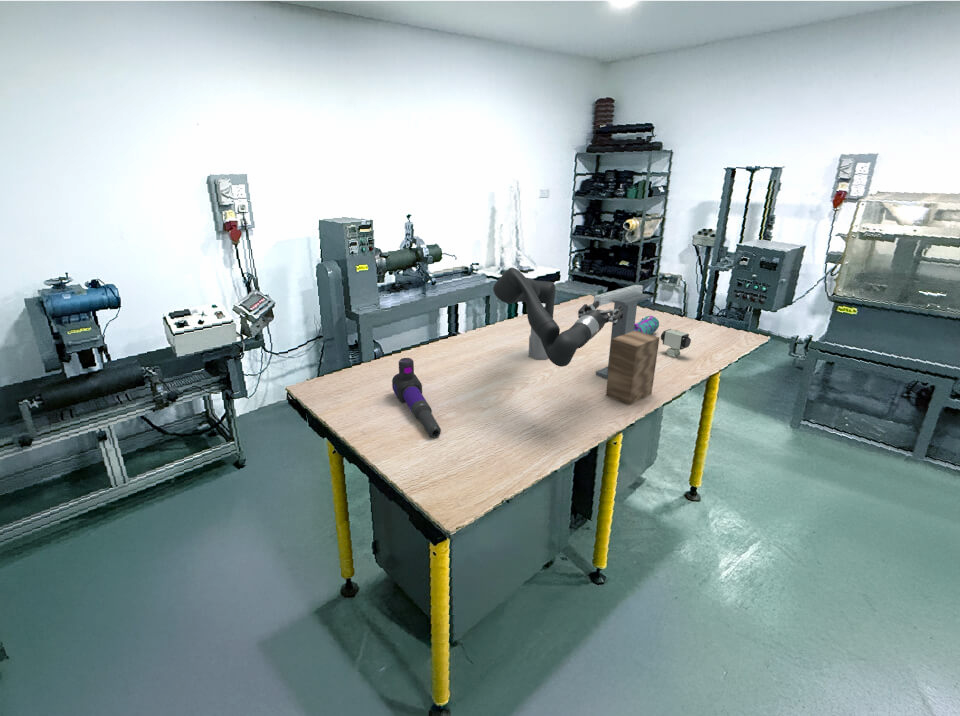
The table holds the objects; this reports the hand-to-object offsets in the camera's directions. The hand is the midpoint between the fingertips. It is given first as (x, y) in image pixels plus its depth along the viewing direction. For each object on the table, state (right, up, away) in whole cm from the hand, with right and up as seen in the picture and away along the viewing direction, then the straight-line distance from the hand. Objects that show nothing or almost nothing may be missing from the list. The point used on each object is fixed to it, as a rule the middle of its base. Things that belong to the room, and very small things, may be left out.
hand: (609, 305), depth 170 cm
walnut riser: (+10, -32, +10) cm, 35 cm away
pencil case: (+33, -9, +68) cm, 76 cm away
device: (-66, -38, -2) cm, 76 cm away
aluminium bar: (+7, +4, +13) cm, 15 cm away
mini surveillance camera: (+40, -18, +46) cm, 63 cm away
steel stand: (+11, -25, +28) cm, 39 cm away
